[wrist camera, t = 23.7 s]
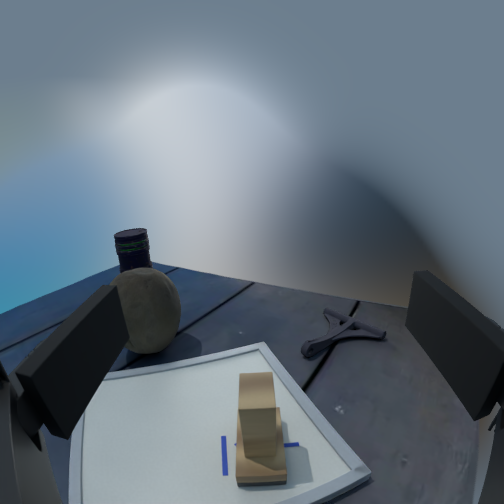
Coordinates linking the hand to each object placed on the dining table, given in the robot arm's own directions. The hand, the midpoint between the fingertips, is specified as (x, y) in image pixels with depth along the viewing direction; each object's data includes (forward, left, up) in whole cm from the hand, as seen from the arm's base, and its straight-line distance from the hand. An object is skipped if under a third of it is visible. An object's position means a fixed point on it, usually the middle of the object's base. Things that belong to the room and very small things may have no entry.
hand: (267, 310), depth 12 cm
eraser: (+9, -2, -24) cm, 25 cm away
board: (+15, +5, -25) cm, 30 cm away
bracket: (+27, -23, -26) cm, 44 cm away
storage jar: (+74, +10, -26) cm, 79 cm away
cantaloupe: (+39, +8, -26) cm, 47 cm away
